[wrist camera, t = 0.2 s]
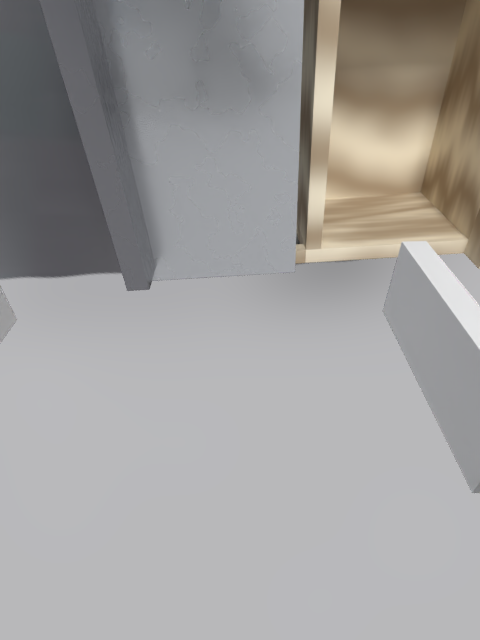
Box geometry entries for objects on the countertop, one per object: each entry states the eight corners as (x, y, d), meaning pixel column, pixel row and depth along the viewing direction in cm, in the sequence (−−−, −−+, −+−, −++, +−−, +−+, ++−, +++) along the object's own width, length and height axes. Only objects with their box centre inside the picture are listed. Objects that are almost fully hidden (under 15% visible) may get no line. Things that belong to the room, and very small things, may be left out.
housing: (104, -53, 27) (26, -90, 17) (498, -87, 26) (668, -148, 16) (160, 216, 40) (135, 289, 30) (425, 199, 39) (494, 267, 29)
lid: (46, -82, 19) (8, -99, 15) (304, -105, 18) (319, -128, 15) (141, 274, 31) (131, 304, 28) (293, 265, 31) (300, 294, 28)
